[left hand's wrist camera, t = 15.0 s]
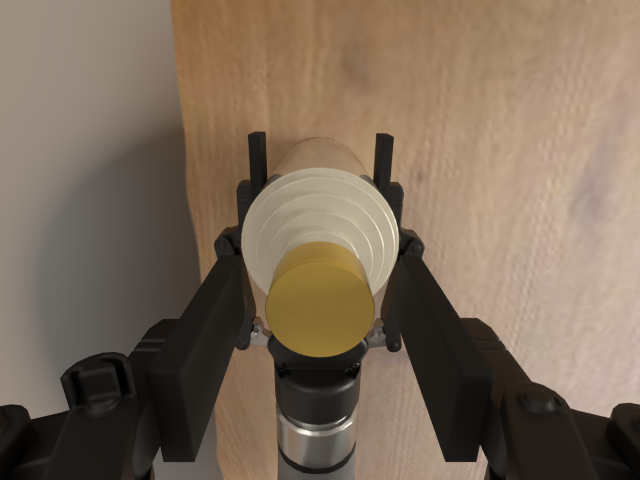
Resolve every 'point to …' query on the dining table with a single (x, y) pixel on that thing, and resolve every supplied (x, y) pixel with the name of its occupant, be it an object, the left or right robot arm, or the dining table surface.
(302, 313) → the cap
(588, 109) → the dining table surface
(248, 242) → the bottle
